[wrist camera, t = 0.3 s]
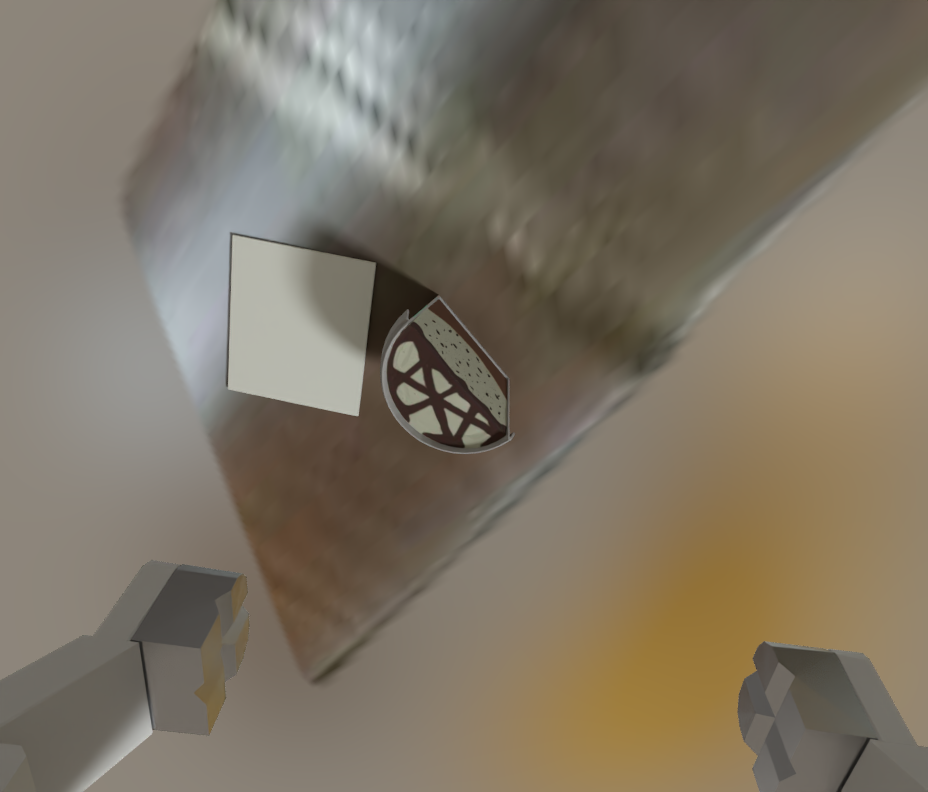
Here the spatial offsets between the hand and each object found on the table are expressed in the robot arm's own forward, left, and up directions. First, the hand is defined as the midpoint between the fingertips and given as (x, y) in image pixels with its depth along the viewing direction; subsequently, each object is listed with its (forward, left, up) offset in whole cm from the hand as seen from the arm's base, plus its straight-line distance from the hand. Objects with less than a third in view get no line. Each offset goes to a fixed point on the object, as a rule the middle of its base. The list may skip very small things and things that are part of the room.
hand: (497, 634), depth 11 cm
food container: (+15, -6, -47) cm, 50 cm away
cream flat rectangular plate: (+15, -19, -47) cm, 53 cm away
